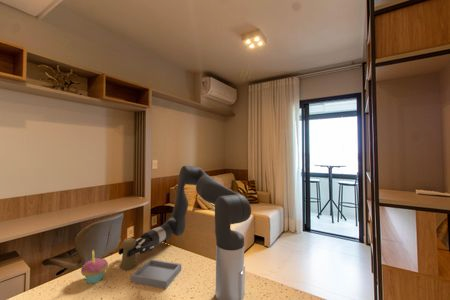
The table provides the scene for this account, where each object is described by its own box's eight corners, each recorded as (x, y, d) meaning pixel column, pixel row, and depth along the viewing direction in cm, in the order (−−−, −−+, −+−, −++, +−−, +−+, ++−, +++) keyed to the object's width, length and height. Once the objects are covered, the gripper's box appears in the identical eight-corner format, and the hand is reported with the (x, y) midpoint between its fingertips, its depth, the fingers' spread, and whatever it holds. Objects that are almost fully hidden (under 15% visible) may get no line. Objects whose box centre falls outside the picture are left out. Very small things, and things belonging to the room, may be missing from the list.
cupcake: (103, 284, 76) (104, 250, 76) (76, 288, 74) (76, 253, 74) (110, 271, 84) (110, 240, 84) (85, 274, 82) (86, 243, 82)
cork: (130, 271, 84) (131, 243, 84) (117, 269, 86) (117, 241, 86) (139, 263, 90) (140, 237, 90) (127, 261, 92) (127, 235, 92)
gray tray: (181, 270, 86) (181, 263, 86) (166, 289, 74) (166, 281, 74) (150, 265, 89) (150, 259, 89) (131, 282, 77) (131, 275, 77)
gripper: (142, 227, 104) (110, 240, 88) (165, 232, 98) (136, 247, 83) (142, 242, 104) (110, 258, 88) (165, 248, 98) (136, 266, 83)
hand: (123, 253), depth 86 cm, fingers closed on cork, 4 cm apart
